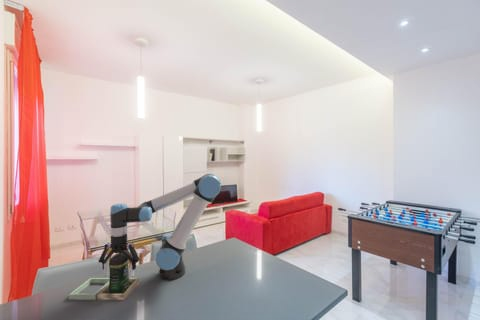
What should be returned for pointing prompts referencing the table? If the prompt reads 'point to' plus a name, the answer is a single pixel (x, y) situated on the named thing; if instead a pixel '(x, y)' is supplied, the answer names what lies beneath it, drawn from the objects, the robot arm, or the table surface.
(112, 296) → the birch frame
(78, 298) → the green frame
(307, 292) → the table surface
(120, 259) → the coffee jar
